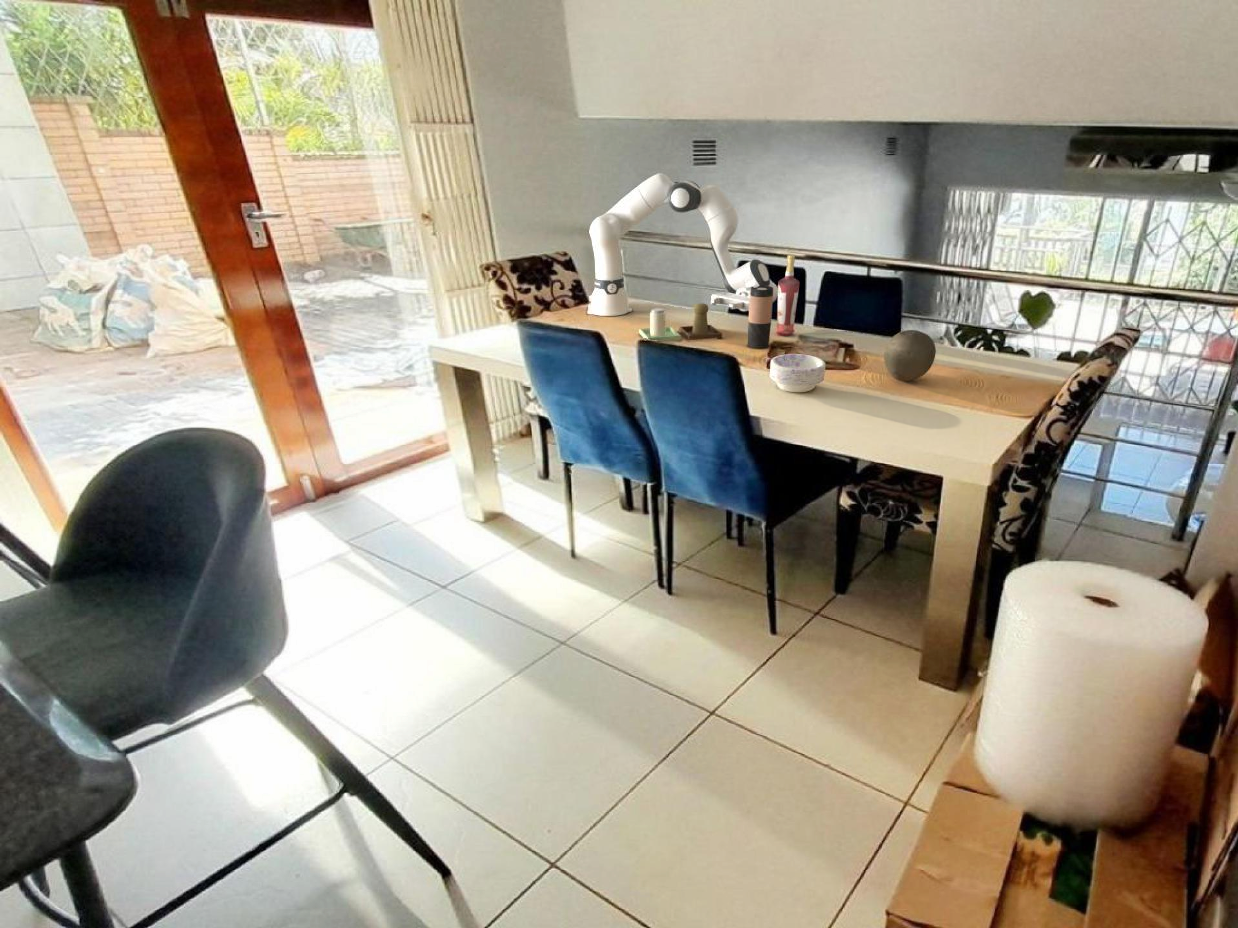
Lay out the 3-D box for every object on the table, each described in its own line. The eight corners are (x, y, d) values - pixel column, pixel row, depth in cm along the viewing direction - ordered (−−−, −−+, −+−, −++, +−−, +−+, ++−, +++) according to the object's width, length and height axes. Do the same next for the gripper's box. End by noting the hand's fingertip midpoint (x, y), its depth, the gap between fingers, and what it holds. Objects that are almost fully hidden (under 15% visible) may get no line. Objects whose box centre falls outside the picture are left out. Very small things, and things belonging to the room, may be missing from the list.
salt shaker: (648, 335, 256) (648, 308, 252) (663, 334, 257) (663, 307, 253) (652, 339, 252) (652, 311, 247) (667, 338, 252) (667, 310, 248)
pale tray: (639, 334, 261) (639, 329, 260) (671, 332, 263) (671, 326, 262) (647, 343, 249) (647, 338, 248) (680, 341, 251) (680, 335, 250)
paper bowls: (798, 400, 193) (801, 372, 190) (757, 386, 205) (759, 360, 201) (834, 388, 201) (837, 362, 198) (793, 376, 213) (795, 350, 209)
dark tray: (679, 332, 262) (679, 326, 261) (710, 329, 264) (710, 324, 263) (689, 341, 250) (689, 335, 250) (721, 338, 253) (722, 333, 252)
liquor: (796, 336, 253) (804, 256, 241) (776, 337, 253) (782, 257, 241) (792, 331, 260) (799, 253, 248) (772, 332, 260) (778, 254, 248)
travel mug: (767, 349, 239) (772, 290, 230) (745, 348, 241) (748, 289, 233) (770, 343, 245) (775, 286, 237) (748, 342, 248) (752, 285, 239)
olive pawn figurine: (688, 333, 259) (689, 303, 254) (703, 331, 261) (704, 301, 256) (697, 336, 254) (698, 306, 249) (711, 334, 256) (712, 304, 251)
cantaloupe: (872, 375, 212) (878, 326, 206) (917, 373, 213) (925, 324, 206) (891, 390, 199) (899, 338, 193) (940, 388, 200) (949, 336, 194)
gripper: (725, 287, 274) (701, 292, 266) (767, 294, 260) (743, 300, 252) (725, 303, 276) (700, 308, 268) (766, 311, 262) (741, 317, 254)
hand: (721, 304), depth 260 cm, fingers open, 8 cm apart
